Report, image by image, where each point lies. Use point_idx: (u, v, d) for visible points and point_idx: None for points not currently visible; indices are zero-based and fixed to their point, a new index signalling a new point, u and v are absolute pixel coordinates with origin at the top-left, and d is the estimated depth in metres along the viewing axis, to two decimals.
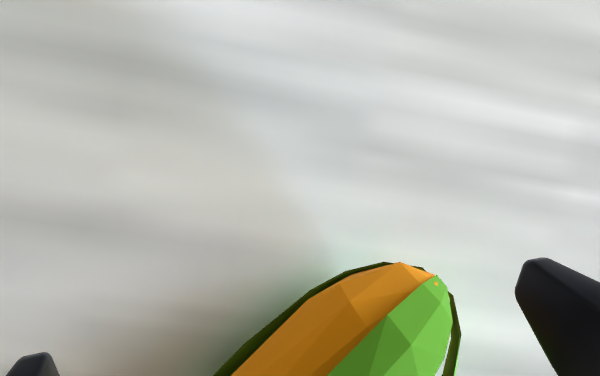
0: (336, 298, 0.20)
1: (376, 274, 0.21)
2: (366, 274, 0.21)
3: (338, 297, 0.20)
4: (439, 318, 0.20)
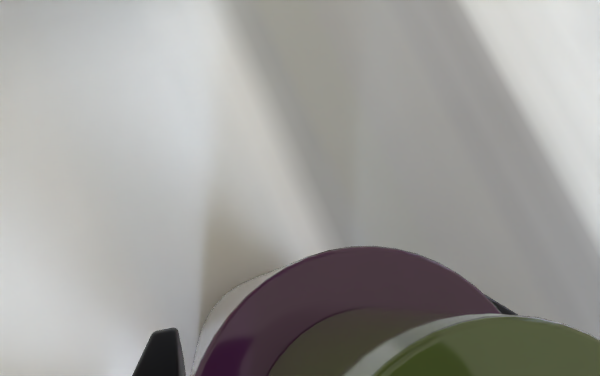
0: None
1: None
2: None
3: None
4: None
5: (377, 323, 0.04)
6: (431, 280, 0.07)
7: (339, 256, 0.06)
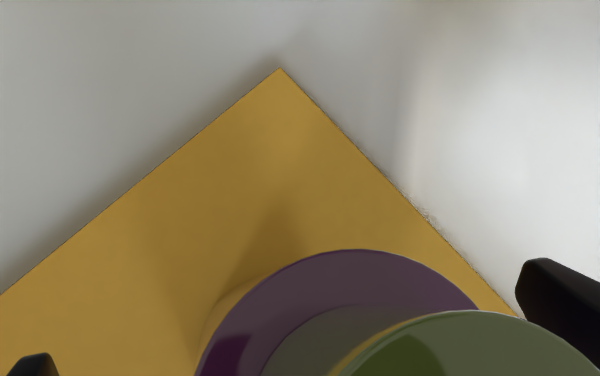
0: None
1: None
2: None
3: None
4: None
5: (360, 318, 0.05)
6: (414, 279, 0.07)
7: (330, 258, 0.07)
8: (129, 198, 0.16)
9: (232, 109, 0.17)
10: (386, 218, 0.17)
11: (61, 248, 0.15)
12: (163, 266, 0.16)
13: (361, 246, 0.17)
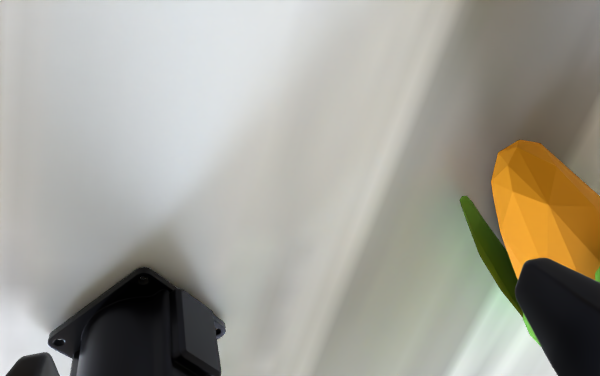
0: None
1: None
2: None
3: None
4: None
5: None
6: None
7: None
8: None
9: None
10: None
11: None
12: None
13: None
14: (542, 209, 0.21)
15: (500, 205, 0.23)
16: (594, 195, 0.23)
